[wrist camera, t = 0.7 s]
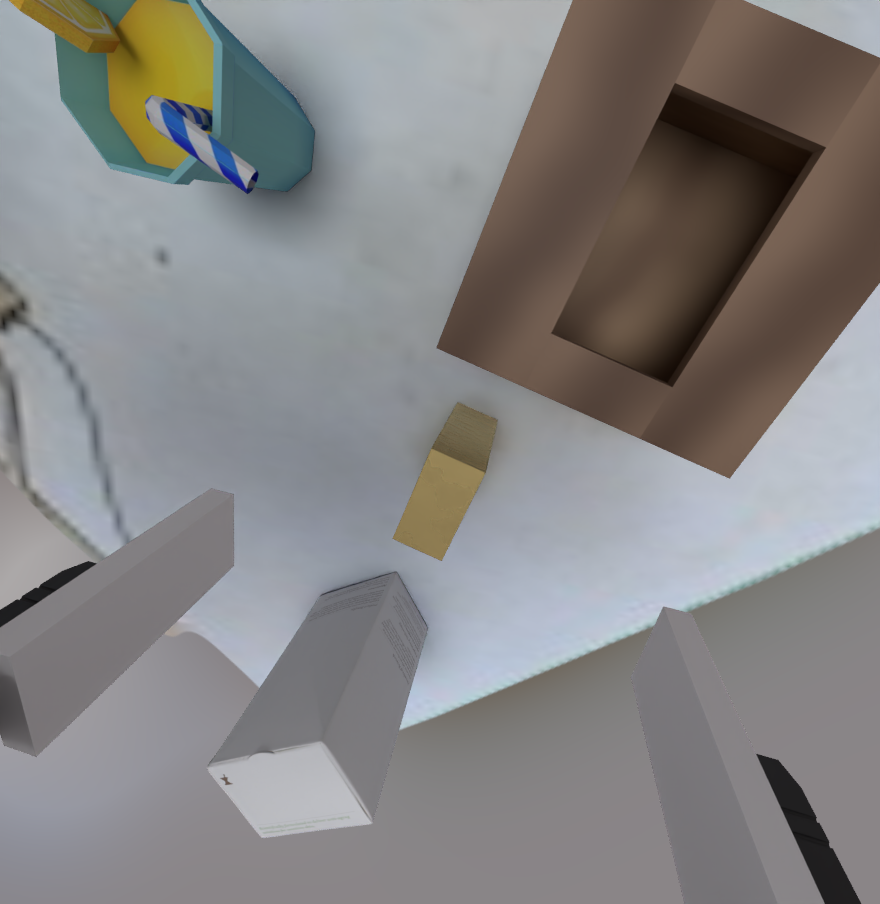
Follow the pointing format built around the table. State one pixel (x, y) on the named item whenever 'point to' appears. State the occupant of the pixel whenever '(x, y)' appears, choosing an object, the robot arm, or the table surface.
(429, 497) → the block
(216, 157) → the cup
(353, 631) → the skincare box
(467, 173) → the table surface
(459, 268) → the table surface
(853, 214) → the coin box
